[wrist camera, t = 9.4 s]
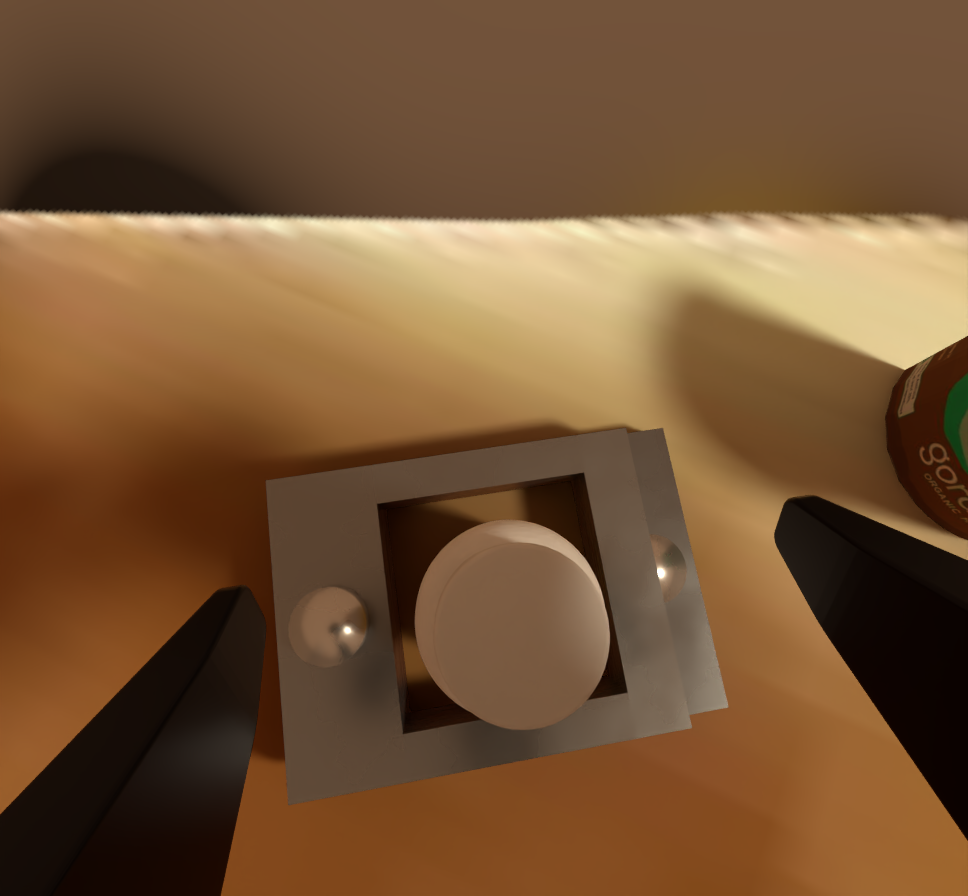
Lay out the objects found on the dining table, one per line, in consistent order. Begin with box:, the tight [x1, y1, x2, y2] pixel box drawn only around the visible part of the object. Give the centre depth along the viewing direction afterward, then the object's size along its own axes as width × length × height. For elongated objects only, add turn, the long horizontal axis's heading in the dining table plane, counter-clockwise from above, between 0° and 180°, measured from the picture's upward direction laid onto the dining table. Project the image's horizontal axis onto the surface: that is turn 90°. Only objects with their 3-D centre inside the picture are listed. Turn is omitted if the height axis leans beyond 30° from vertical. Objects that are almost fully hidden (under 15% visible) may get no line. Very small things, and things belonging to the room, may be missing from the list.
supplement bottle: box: [415, 520, 610, 730], centre depth 16 cm, size 5×5×10 cm
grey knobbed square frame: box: [266, 428, 728, 805], centre depth 19 cm, size 16×11×3 cm
